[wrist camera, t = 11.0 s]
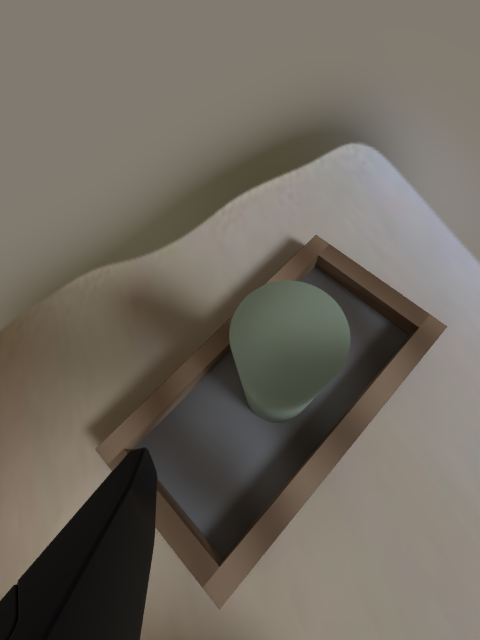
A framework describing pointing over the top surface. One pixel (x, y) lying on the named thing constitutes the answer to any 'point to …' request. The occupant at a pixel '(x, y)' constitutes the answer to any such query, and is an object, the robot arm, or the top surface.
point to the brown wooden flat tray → (266, 426)
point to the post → (287, 346)
